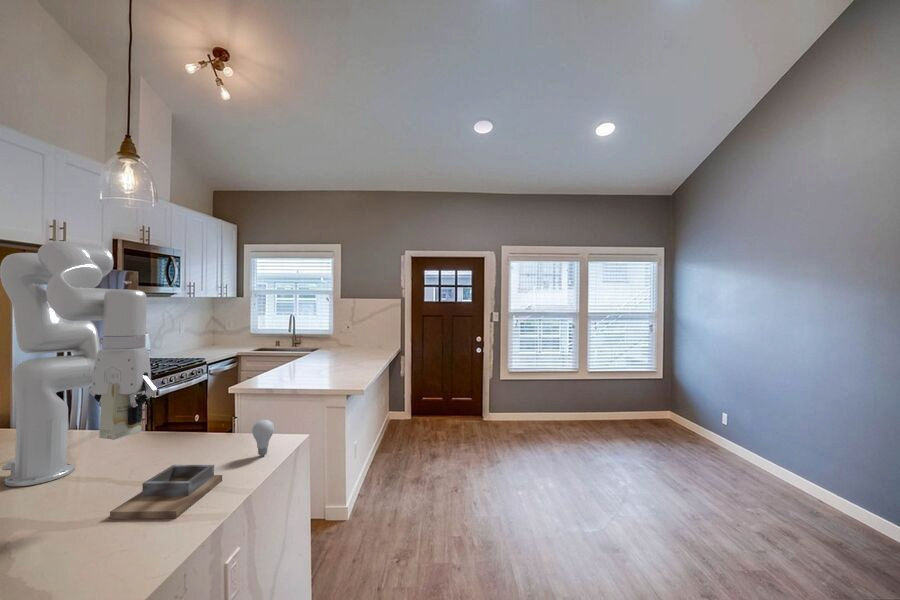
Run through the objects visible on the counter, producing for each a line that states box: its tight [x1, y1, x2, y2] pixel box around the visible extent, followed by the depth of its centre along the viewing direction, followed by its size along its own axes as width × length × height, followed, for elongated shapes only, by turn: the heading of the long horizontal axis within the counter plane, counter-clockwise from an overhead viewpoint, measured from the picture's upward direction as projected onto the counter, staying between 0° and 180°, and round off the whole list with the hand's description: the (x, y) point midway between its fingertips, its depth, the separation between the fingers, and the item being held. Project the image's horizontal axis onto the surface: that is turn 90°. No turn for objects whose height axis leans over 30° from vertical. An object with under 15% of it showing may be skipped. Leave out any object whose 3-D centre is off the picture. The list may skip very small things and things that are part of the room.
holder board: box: [109, 464, 223, 520], centre depth 92 cm, size 14×18×4 cm
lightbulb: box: [251, 419, 275, 457], centre depth 118 cm, size 6×6×11 cm
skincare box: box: [98, 384, 142, 441], centre depth 87 cm, size 6×4×12 cm
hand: (122, 422), depth 87 cm, fingers closed on skincare box, 5 cm apart
